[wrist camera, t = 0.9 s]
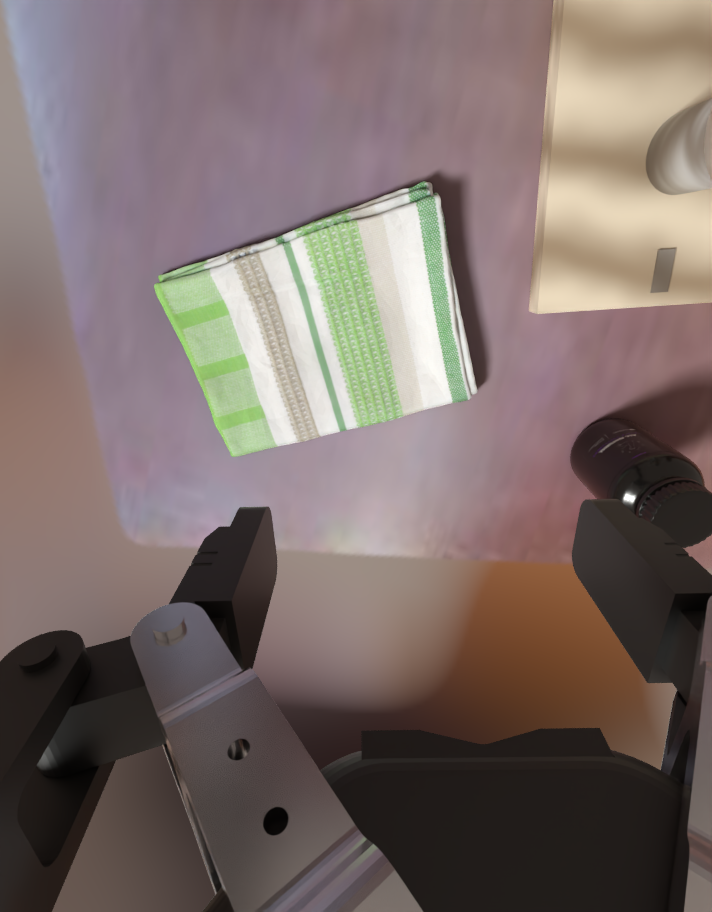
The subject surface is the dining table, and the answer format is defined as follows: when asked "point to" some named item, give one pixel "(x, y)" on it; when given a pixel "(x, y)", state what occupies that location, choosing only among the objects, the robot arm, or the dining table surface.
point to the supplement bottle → (644, 478)
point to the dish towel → (326, 324)
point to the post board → (625, 157)
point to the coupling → (708, 145)
